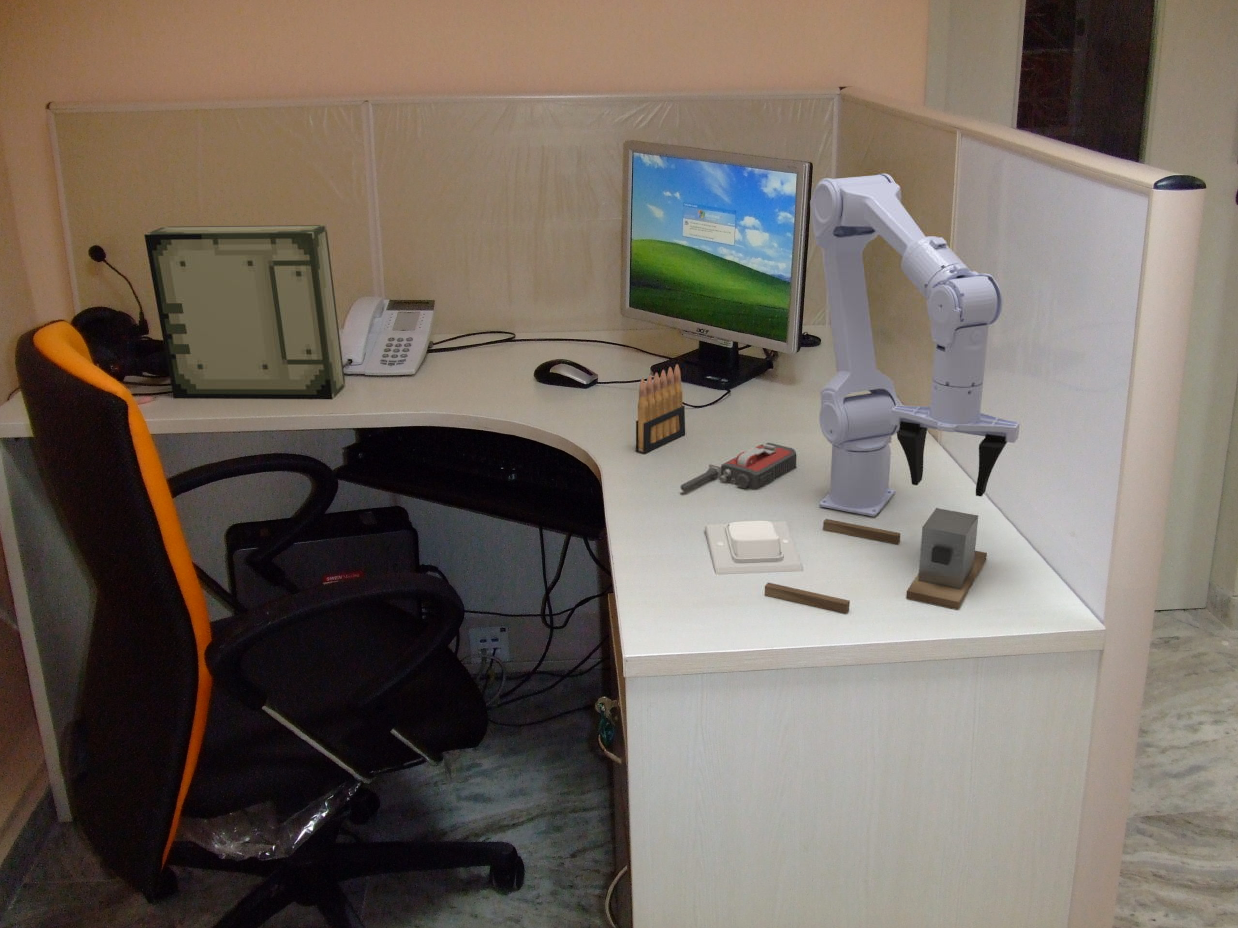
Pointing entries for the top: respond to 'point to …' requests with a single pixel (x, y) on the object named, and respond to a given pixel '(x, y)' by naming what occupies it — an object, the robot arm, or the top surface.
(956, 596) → the mounting board
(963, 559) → the junction box
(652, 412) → the ammunition clip
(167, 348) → the control panel
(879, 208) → the robot arm
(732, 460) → the walkie-talkie
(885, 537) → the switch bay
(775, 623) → the top surface
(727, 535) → the light switch
